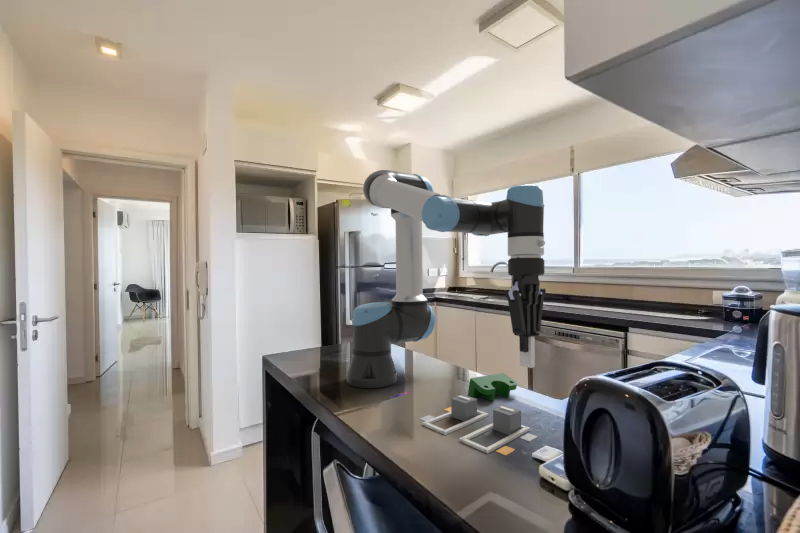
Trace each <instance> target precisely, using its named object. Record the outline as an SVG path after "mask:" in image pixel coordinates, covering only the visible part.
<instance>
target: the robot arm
mask: <svg viewBox="0 0 800 533" xmlns="http://www.w3.org/2000/svg"><path fill="white" fill-rule="evenodd" d="M362 191H363V195H364V198H365V200H366V201H367V202H368V203H370V204H371V205H372V206H374V207H377V208H379V209H390V217H391V218H392V219H393V220H394V221H395V292H396V293H395V295H394V296H393V297H392V298H391V302H387V301H377V302H369V303H364V304H361V305H358V306H356V307H355V308H354V309H353V311H352V320H351V324H352V357H351V361H350V363H349V367H348V371H347V372H346V383H347V384H348V385H349V386H352V387H355V388H362V389H378V388H386V387H390V386H392V385H394V384H396V383H397V381H398V373H397V372H398V371H397V370H396V366H395V364H394V360H393V358H392V345H395V344H401V343H402V344H403V343H410V342H413V343H414V342H419V341H422V340H426V339H428V338H429V337H430V335H432V334H433V332H434V329H435V325H436V313H435V311H434V309H433V307H432V306H431V305H429V304H428V298H426V296H425V295H424V293H423V291H424V290H423V285H424V282H423V279H424V278H423V224H424V225H425V228H427V229H429V230H431V231H435V232H439V233H446V232H447V233H448V232H449V233H464V234H465V233H466V234H471V235H474V236H476V237H479V236H480V237H482V236H484V237H488V236H490V235H499V234H505V233H507V256H508V257H510V258H509V259H508V261H507V271H508V272H507V273H508V275H509V276H512V277H513V279H512V282H511V286H512V287H511V289H506V290H505V296H506V299H507V302H508V310H509V315H510V322H511V330H512V334H514V336H516V337H517V336H518V337H519V367H524V368H529V369H532V368H535V367H536V353H535V352H536V349H535V348H536V346H535V344H536V342H535V341H536V340H535V337H540V334H541V333H540V332H541V327H542V320H543V319H542V317H543V309H544V299H545V295H546V292H547V290H546V288H542V287H541V286H540V282H541V281H540V280H539V276H543V275H545V259H544V258H543V257H542V256H544V254H545V245H546V241H544V240H545V238H544V237H545V235H544V234H545V233H544V221H545V220H544V219H545V218H544V214H545V213H544V211H545V210H544V209H545V204H544V195H543V194H544V192H543V189H542V187H540V186H539V185H536V184H519V185H518V184H517V185H514V186H511V187H509V188H508V189H507V191H506V197H505V198H506V199H503V200H499V201H494V202H488V201H481V200H480V201H479V200H471V199H463V198H459V197H458V198H457V197H456V198H455V197H452V196H449V195H446V194H442V193H438V192H435V191H434V186H433V185H432V182H431V181H430V180H428V178H427V177H425V176H424V175H423V176H422V175H419V174H417V173H408V172H407V173H406V172H400V171H394V170H387V169H382V170H381V169H380V170H379V169H378V170H375V171H374V172H372V173H371V174H369V175H368V176H367V177H366V178H365V180H364V182H363V188H362Z"/></svg>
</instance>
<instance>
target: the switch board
mask: <svg viewBox="0 0 800 533" xmlns="http://www.w3.org/2000/svg"><path fill="white" fill-rule="evenodd" d="M443 411H446V413H443V414H441V415H438V416H434V415H430V414H428V415H425V416H422V417H420V418H419V420H420V421H422V423H421V425H422V426H424V427H426V428H428V429H431V430H433V431H435V432H437V433H440V434H442V435H444V436H446V435H449V434H452V433H453V432H455V431H458V430H460V429H463V428H465V427H467V426H469V425H471V424H474V423H476V422H478V421H480V420H482V419H483V420H484V419H485V418H487V417H489V413H487V412H484V411H483V410H479V409H477V416H476V417H474V418H472V419H469V420H467V421H461V422H460V423H457V424H455V425H453V426H451V427H449V428H446V429H444V428H441V427H439V426H436V425H434V423H437V422H440V421H441V420H444V419H446V418H450V417H451V406H449V407H447V408H444V409H443ZM491 430H493V422H492V423H489V424H487V425H485V426H482V427H481V428H478V429H477V430H474V431H472V432H471V433H468V434H466V435H464V436H462V437H459V442H460V443H463V444H465V445H467V446H469V447H471V448H474V449H476V450H478V451H481V452H483V453H485V454H487V455H488V454H490V453H491V452H493V451H495V452H496V453H498V454H500V455H503V456H506V457H507V456H508V455H511V454H512V453H513V452H515V451H516V449H515V448H512V447H511V446H510V447H509V446H507V445H506V444H508V443H510V442H512V441H514V440H515V439H517V438H518V437H519V438H520V440H524V441H526V442H529V443H530V442H533V441H534V440H535V439H537V438H539V437H538V436H537V435H535V434H531V433H528V432H529V431H531V428H530V427H528V426H526V425H523V424H521V429H520V430H519V431H517V432H515V433H513V434H511V435H507V436H505V437H504V438H502V439H500V440H498V441H497V442H496V441H495V443H492V444H491V445H489V446H484V445H482V444H480V443H477V442H474V441H473V440H471V439H473V438H476V437H477V436H480V435H482V434H483V433H484V434H485V433H486V432H488V431H491Z"/></svg>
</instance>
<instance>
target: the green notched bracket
mask: <svg viewBox="0 0 800 533" xmlns="http://www.w3.org/2000/svg"><path fill="white" fill-rule="evenodd" d="M517 385H518V382H517V381H516V380H514V379H513V378H512V377H510V376H509V375H507V374H506V373H505V372H502V373H501V372H500V373H495V374H488V375H483V376H477V377H472V378H470V379H469V384H468V391H467V396H469V397H472V398H475V399H476V397H482V398H485V399H487V400H488V401H491V402H494V401H495V396H502V397H505V398H507V399H508V398H510V393H511V391H515V390H516V389H517Z"/></svg>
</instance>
